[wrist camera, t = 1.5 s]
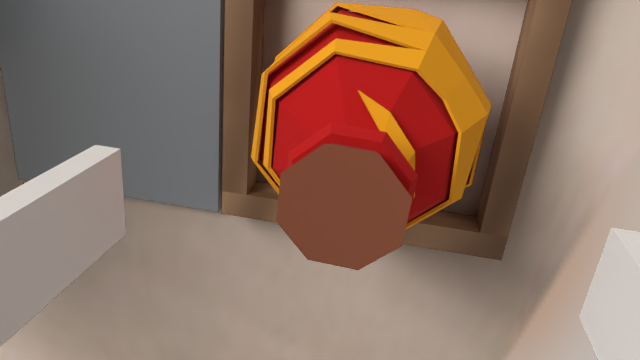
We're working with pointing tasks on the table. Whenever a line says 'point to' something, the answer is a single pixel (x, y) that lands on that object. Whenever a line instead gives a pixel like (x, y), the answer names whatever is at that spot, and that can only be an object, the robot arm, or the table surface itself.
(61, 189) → the robot arm
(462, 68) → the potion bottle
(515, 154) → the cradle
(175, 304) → the table surface
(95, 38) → the coaster
